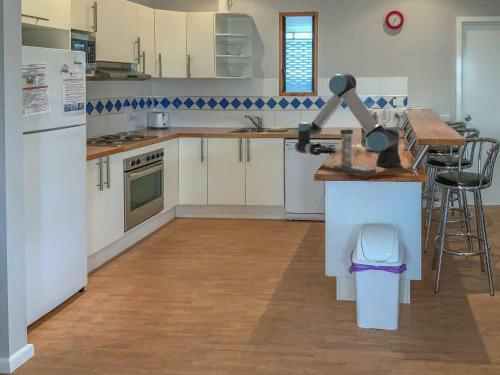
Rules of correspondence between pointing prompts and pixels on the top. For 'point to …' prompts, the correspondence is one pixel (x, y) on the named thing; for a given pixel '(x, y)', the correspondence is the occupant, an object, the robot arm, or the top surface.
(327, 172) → the top surface
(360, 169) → the fader console
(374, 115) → the soap bottle
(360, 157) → the top surface
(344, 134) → the lever
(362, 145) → the coffee box
